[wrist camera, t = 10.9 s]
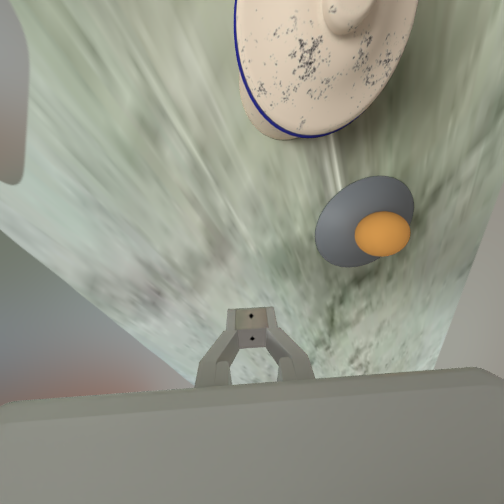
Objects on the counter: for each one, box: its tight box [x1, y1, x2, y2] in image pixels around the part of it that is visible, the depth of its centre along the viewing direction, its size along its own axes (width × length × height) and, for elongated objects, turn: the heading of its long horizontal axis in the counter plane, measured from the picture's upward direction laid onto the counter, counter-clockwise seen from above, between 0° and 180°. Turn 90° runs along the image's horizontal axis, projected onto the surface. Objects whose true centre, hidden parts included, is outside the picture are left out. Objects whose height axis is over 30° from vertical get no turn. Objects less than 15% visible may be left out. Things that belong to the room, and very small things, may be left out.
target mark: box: [315, 176, 414, 267], centre depth 24 cm, size 13×13×1 cm
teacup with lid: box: [234, 0, 418, 140], centre depth 11 cm, size 12×9×12 cm
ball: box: [355, 211, 410, 257], centre depth 22 cm, size 6×6×6 cm
